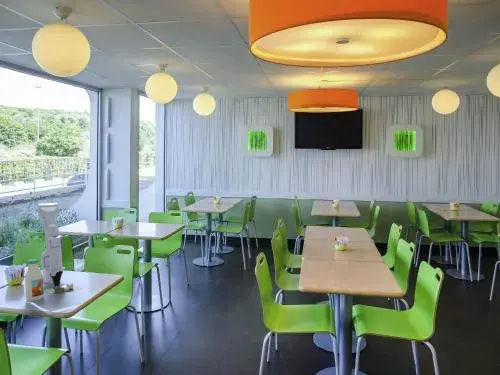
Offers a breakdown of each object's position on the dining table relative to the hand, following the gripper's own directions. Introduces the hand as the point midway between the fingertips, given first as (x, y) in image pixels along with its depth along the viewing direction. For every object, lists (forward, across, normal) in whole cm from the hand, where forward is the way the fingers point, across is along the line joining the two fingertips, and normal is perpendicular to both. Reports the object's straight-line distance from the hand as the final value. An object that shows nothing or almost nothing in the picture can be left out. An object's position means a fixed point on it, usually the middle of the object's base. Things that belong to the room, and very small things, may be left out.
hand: (57, 285), depth 223 cm
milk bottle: (+3, -11, +8) cm, 14 cm away
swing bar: (+2, -3, -3) cm, 5 cm away
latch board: (+3, 0, -3) cm, 4 cm away
